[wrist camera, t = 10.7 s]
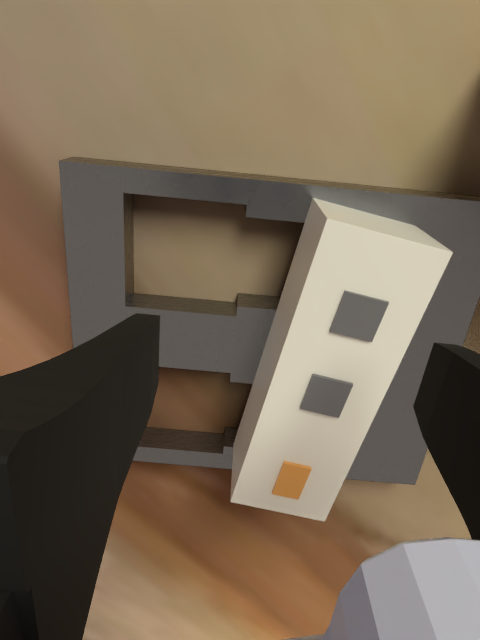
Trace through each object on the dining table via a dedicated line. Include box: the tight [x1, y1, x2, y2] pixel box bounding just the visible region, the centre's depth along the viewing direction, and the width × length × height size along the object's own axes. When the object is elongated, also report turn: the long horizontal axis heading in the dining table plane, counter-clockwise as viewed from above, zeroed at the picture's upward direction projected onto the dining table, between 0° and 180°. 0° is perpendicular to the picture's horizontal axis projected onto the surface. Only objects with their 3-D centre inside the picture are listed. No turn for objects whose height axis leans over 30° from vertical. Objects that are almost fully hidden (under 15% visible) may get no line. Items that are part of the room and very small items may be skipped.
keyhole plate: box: [59, 157, 480, 485], centre depth 22 cm, size 18×15×2 cm
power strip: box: [230, 198, 453, 521], centre depth 20 cm, size 4×13×5 cm, turn 165°
